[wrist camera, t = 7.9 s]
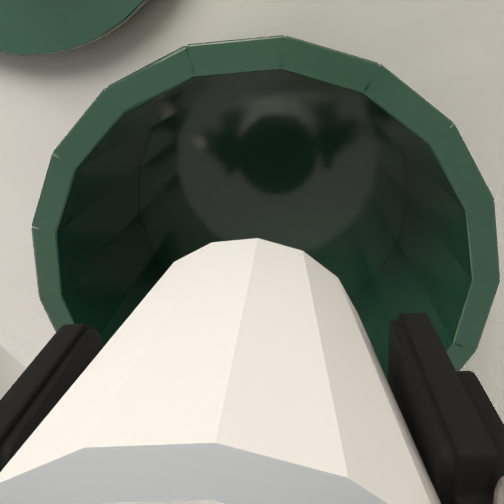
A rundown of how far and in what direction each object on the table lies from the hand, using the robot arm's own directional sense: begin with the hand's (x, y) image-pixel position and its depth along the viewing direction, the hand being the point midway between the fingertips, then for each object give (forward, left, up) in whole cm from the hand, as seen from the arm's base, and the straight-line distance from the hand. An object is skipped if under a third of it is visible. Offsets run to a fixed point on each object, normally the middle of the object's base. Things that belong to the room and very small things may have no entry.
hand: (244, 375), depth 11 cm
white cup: (0, 0, -2) cm, 2 cm away
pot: (0, 0, -13) cm, 13 cm away
